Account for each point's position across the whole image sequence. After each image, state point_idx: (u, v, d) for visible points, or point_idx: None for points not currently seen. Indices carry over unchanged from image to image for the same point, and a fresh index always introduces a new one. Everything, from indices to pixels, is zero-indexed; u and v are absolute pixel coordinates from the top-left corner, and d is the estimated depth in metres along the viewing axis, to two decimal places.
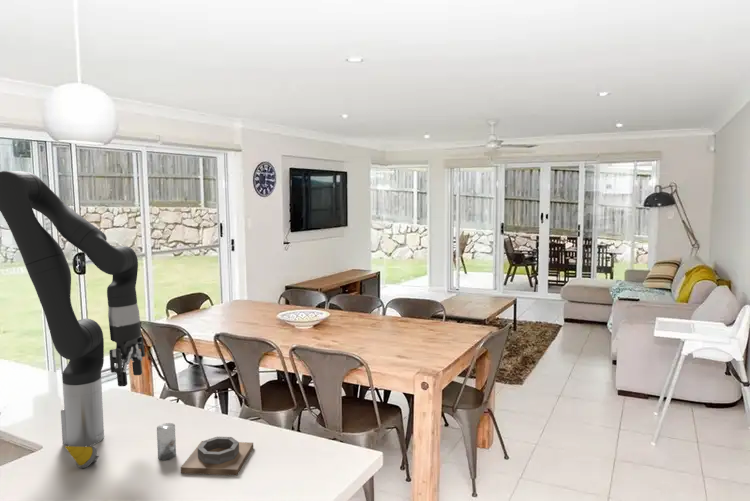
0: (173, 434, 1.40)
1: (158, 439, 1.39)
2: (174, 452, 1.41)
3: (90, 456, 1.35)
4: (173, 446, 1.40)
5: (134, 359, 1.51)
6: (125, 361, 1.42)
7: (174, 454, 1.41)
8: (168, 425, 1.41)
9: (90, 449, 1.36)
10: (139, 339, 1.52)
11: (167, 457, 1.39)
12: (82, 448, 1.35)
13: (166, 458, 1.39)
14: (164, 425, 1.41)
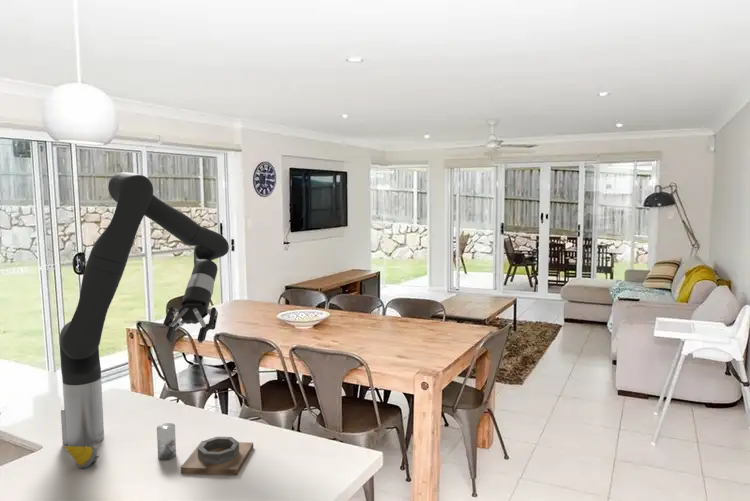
0: (173, 434, 1.40)
1: (158, 439, 1.39)
2: (174, 452, 1.41)
3: (90, 456, 1.35)
4: (173, 446, 1.40)
5: (173, 326, 1.54)
6: None
7: (174, 454, 1.41)
8: (168, 425, 1.41)
9: (90, 449, 1.36)
10: None
11: (167, 457, 1.39)
12: (82, 448, 1.35)
13: (166, 458, 1.39)
14: (164, 425, 1.41)
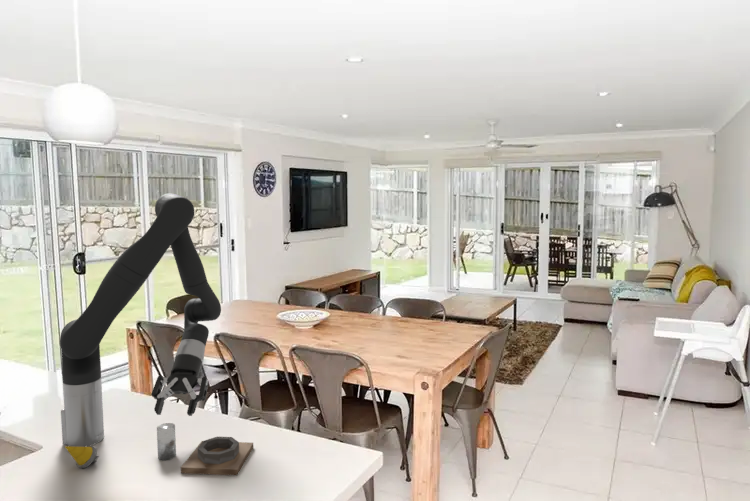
0: (173, 434, 1.40)
1: (158, 439, 1.39)
2: (174, 452, 1.41)
3: (90, 456, 1.35)
4: (173, 446, 1.40)
5: (162, 397, 1.48)
6: (195, 393, 1.50)
7: (174, 454, 1.41)
8: (168, 425, 1.41)
9: (90, 449, 1.36)
10: None
11: (167, 457, 1.39)
12: (82, 448, 1.35)
13: (166, 458, 1.39)
14: (164, 425, 1.41)
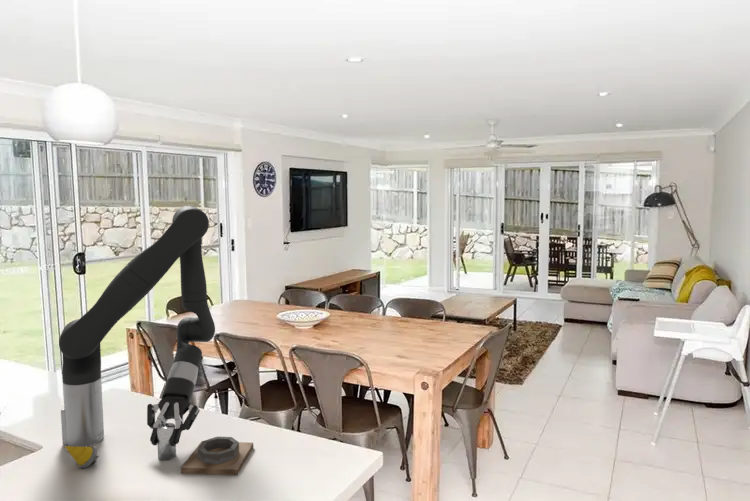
0: None
1: (158, 439, 1.39)
2: (174, 452, 1.41)
3: (90, 456, 1.35)
4: (173, 446, 1.40)
5: None
6: (182, 421, 1.44)
7: (174, 454, 1.41)
8: (168, 425, 1.41)
9: (90, 449, 1.36)
10: None
11: (167, 457, 1.39)
12: (82, 448, 1.35)
13: (166, 458, 1.39)
14: (164, 425, 1.41)
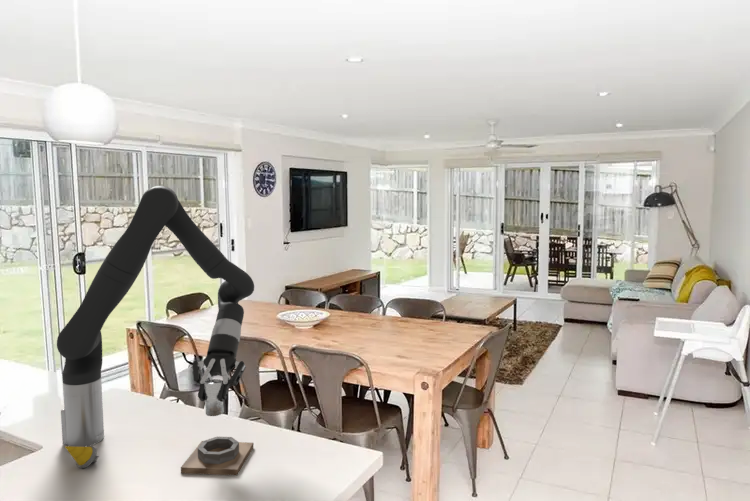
0: None
1: (206, 395, 1.37)
2: (222, 408, 1.38)
3: (90, 456, 1.35)
4: (221, 402, 1.38)
5: None
6: (229, 378, 1.41)
7: (222, 410, 1.38)
8: (215, 381, 1.38)
9: (90, 449, 1.36)
10: None
11: (215, 413, 1.37)
12: (82, 448, 1.35)
13: (214, 414, 1.37)
14: (211, 381, 1.39)
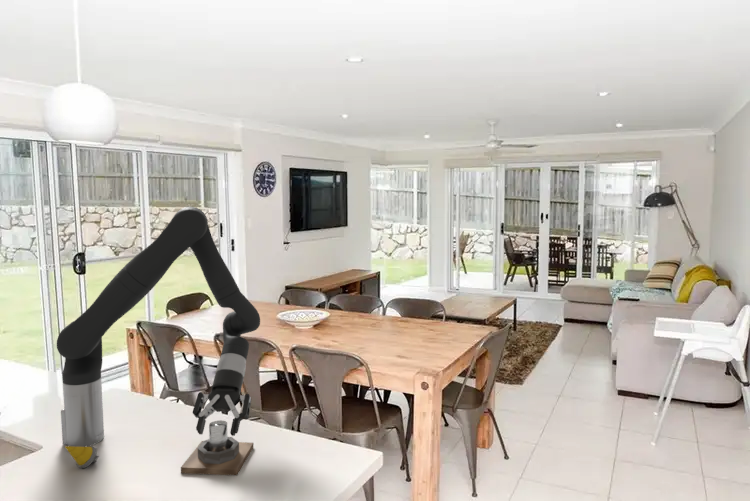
0: (226, 431, 1.38)
1: (211, 437, 1.37)
2: None
3: (90, 456, 1.35)
4: (225, 444, 1.39)
5: (204, 415, 1.40)
6: None
7: None
8: (220, 423, 1.39)
9: (90, 449, 1.36)
10: None
11: None
12: (82, 448, 1.35)
13: None
14: (216, 422, 1.39)
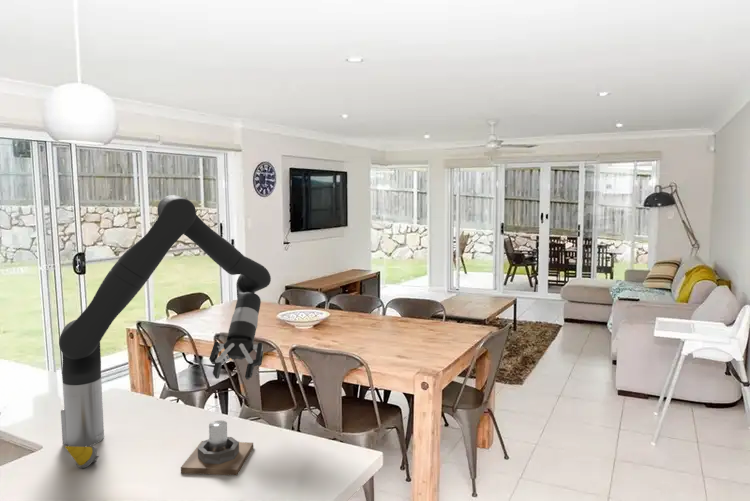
0: (225, 431, 1.38)
1: (211, 437, 1.37)
2: None
3: (90, 456, 1.35)
4: (225, 444, 1.39)
5: (219, 361, 1.52)
6: None
7: None
8: (220, 423, 1.39)
9: (90, 449, 1.36)
10: None
11: None
12: (82, 448, 1.35)
13: None
14: (216, 423, 1.39)
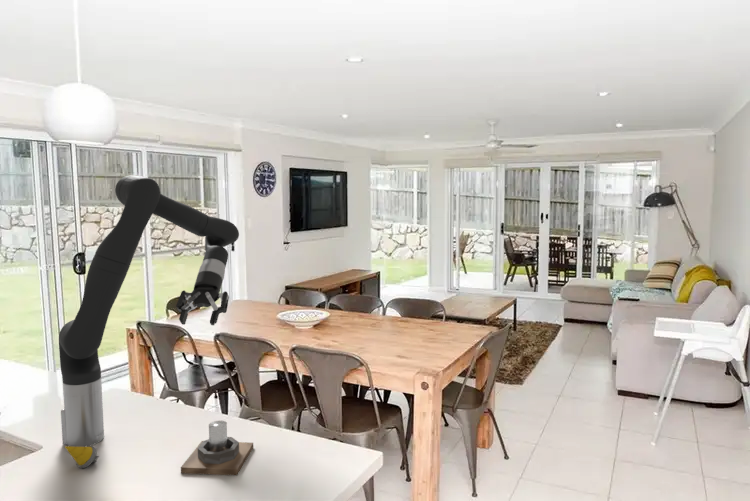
0: (225, 431, 1.38)
1: (210, 437, 1.37)
2: None
3: (90, 456, 1.35)
4: (225, 444, 1.39)
5: (186, 309, 1.58)
6: None
7: None
8: (220, 423, 1.39)
9: (90, 449, 1.36)
10: None
11: None
12: (82, 448, 1.35)
13: None
14: (215, 423, 1.39)
